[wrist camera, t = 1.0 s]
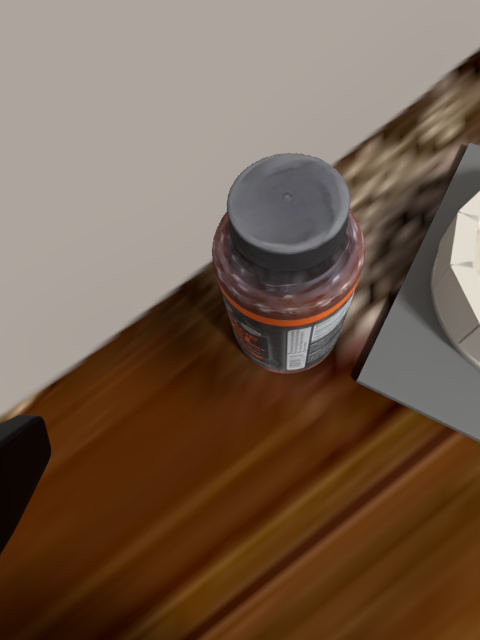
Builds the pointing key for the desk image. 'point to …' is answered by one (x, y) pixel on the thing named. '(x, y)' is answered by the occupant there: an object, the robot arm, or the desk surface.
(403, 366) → the mat
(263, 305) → the supplement bottle
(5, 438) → the robot arm
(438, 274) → the bowl
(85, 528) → the desk surface
